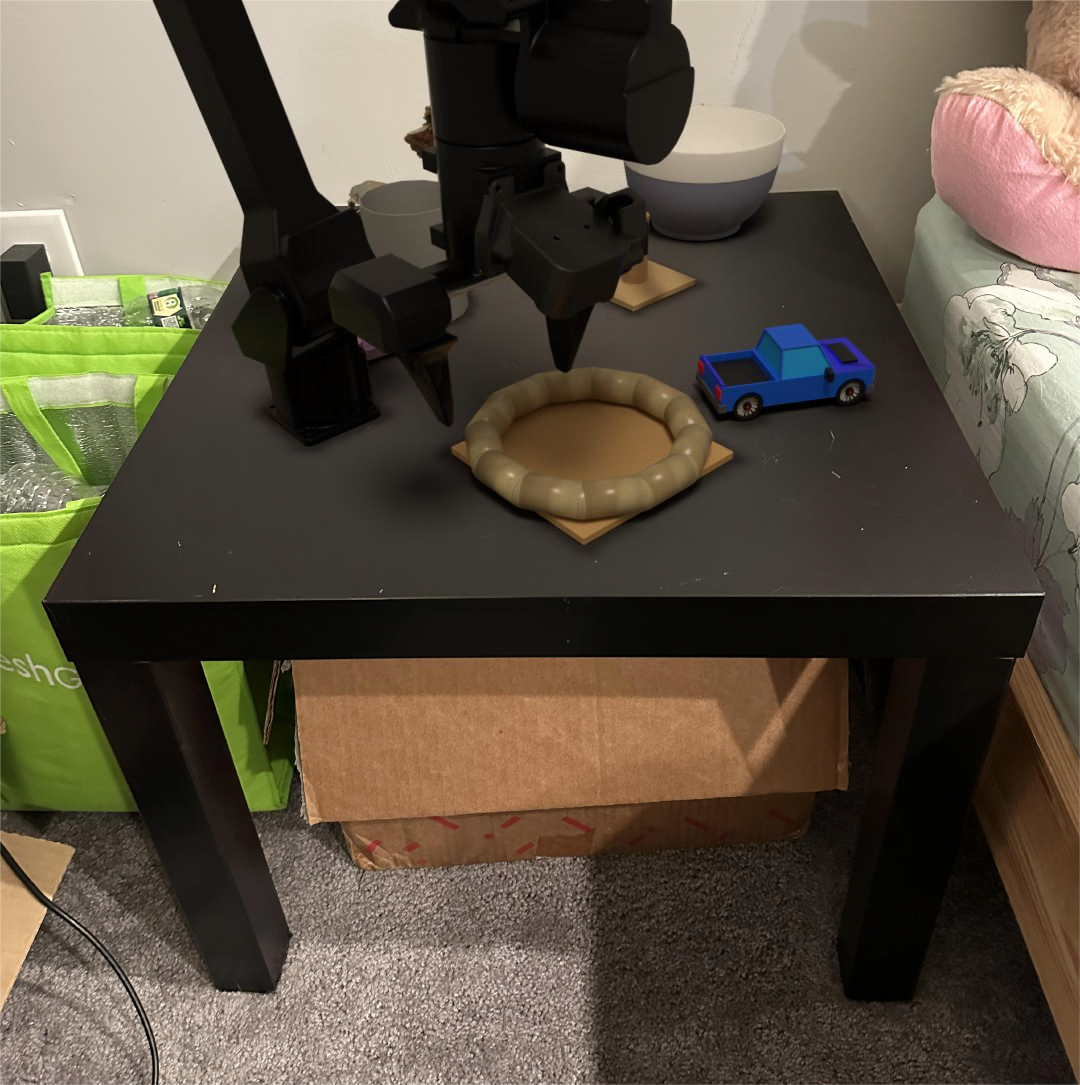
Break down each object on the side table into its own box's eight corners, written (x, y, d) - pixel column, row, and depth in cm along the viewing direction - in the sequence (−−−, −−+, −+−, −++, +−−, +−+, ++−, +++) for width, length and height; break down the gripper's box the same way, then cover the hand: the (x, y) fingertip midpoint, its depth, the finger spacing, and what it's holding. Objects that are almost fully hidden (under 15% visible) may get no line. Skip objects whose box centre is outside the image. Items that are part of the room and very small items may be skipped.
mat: (583, 546, 59) (583, 538, 59) (451, 453, 68) (450, 446, 67) (733, 459, 66) (733, 451, 66) (595, 384, 75) (595, 378, 74)
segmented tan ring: (578, 560, 57) (578, 529, 56) (421, 448, 67) (417, 419, 66) (758, 454, 65) (762, 424, 64) (593, 368, 75) (593, 340, 74)
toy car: (875, 408, 70) (889, 347, 67) (720, 430, 69) (727, 369, 66) (836, 365, 76) (847, 307, 72) (691, 384, 74) (696, 326, 71)
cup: (453, 331, 82) (441, 217, 76) (363, 325, 84) (344, 213, 77) (477, 289, 89) (468, 181, 82) (393, 285, 90) (378, 178, 84)
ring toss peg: (633, 312, 84) (635, 239, 80) (573, 284, 89) (572, 214, 85) (695, 284, 88) (700, 214, 84) (634, 260, 93) (636, 191, 89)
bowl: (738, 266, 91) (748, 163, 85) (592, 237, 97) (592, 139, 91) (796, 211, 101) (809, 116, 95) (660, 188, 108) (665, 98, 102)
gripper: (430, 220, 39) (463, 518, 49) (731, 122, 48) (708, 391, 58) (297, 160, 46) (350, 433, 56) (583, 83, 55) (585, 330, 65)
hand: (506, 396), depth 58 cm, fingers open, 9 cm apart
